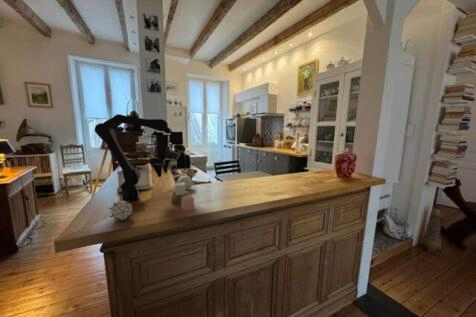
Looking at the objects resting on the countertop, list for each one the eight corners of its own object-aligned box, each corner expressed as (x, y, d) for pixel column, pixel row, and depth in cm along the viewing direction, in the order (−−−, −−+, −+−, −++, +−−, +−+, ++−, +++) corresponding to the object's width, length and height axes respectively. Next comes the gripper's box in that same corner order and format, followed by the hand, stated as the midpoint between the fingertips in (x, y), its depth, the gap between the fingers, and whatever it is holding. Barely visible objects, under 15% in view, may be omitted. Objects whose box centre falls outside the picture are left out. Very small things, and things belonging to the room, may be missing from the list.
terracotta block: (184, 210, 88) (183, 200, 87) (181, 207, 92) (180, 196, 91) (194, 208, 90) (193, 198, 89) (190, 205, 94) (190, 195, 93)
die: (184, 194, 111) (194, 179, 113) (171, 185, 112) (181, 170, 114) (188, 194, 120) (197, 180, 121) (175, 186, 120) (185, 172, 122)
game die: (120, 227, 81) (117, 203, 84) (140, 219, 81) (137, 196, 85) (104, 226, 72) (102, 200, 76) (126, 217, 73) (123, 192, 76)
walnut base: (171, 204, 96) (171, 196, 95) (173, 199, 102) (173, 191, 102) (187, 203, 97) (186, 195, 96) (187, 198, 104) (187, 191, 103)
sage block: (175, 192, 100) (175, 183, 100) (185, 192, 102) (184, 182, 101) (175, 195, 96) (175, 185, 95) (185, 194, 97) (185, 184, 97)
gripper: (173, 146, 92) (173, 179, 95) (182, 143, 111) (182, 171, 113) (148, 146, 92) (149, 179, 94) (162, 143, 110) (162, 171, 113)
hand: (162, 174), depth 103 cm, fingers open, 9 cm apart
